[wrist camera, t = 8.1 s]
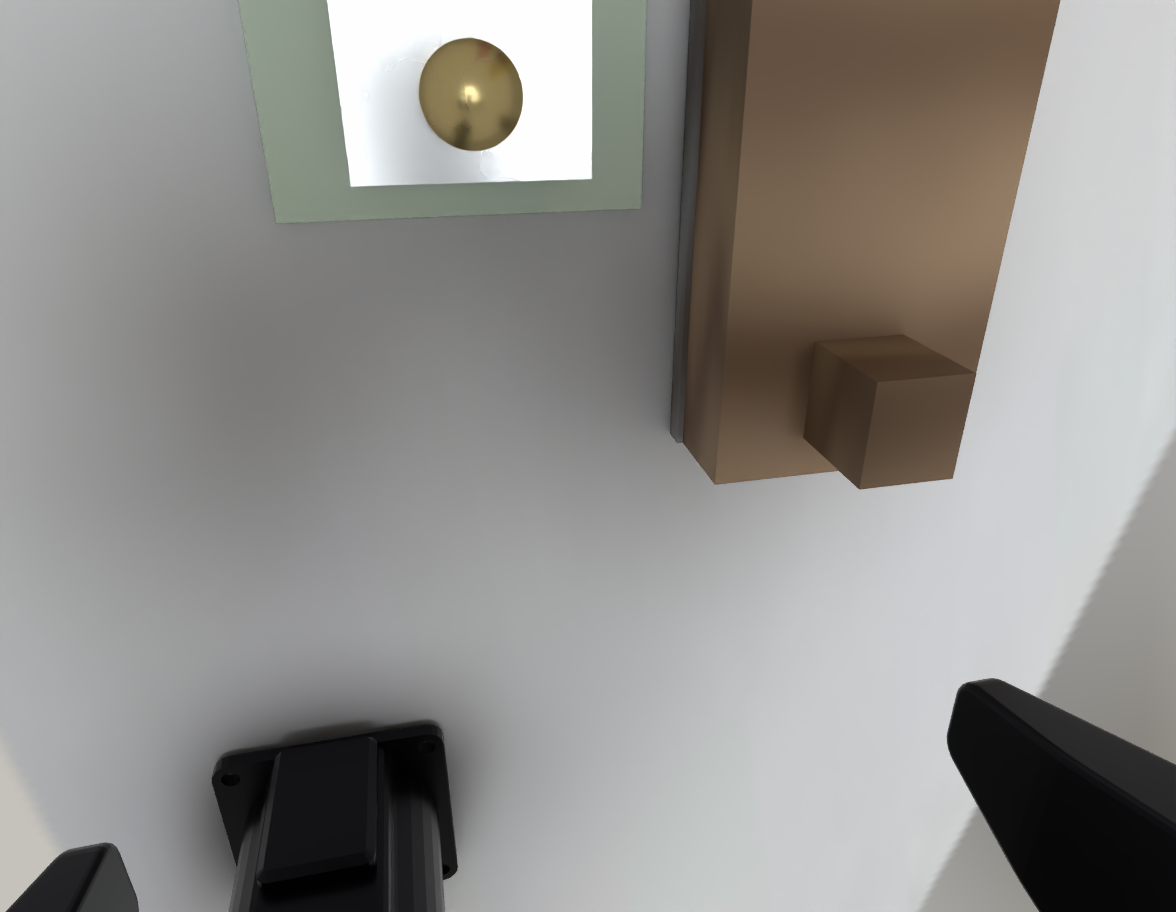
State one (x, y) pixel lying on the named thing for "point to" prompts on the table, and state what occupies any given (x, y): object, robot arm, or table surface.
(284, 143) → the felt pad
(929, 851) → the table surface
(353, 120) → the white block brass knob
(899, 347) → the plane body
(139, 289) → the table surface
